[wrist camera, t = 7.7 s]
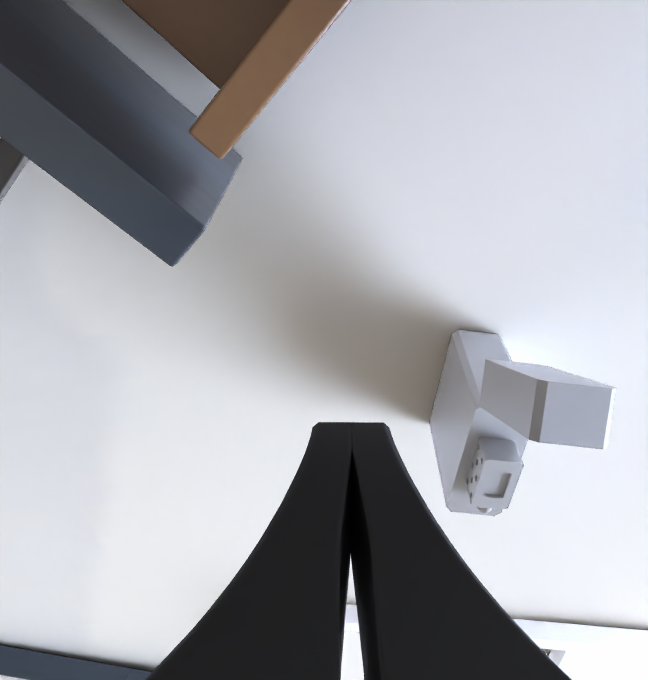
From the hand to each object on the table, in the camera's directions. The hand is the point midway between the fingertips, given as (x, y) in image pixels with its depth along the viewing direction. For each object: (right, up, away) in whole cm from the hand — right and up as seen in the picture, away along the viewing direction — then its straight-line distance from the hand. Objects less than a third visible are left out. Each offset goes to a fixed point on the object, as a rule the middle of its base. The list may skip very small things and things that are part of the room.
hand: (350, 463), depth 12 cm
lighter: (+5, +2, +10) cm, 11 cm away
